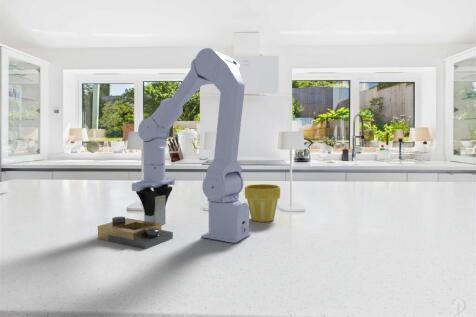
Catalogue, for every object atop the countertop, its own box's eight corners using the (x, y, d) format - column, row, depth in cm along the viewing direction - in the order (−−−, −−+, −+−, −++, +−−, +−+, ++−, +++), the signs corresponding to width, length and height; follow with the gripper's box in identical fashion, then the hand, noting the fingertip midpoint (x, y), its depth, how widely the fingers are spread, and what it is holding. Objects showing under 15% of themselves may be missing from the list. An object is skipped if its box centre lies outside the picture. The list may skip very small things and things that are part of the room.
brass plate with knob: (172, 238, 80) (172, 220, 80) (145, 249, 72) (144, 229, 72) (127, 229, 87) (127, 213, 87) (97, 238, 80) (97, 220, 79)
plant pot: (237, 219, 99) (237, 186, 98) (259, 213, 106) (259, 182, 106) (265, 225, 92) (265, 190, 91) (286, 219, 99) (287, 186, 99)
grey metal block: (165, 223, 94) (165, 195, 93) (155, 227, 90) (155, 197, 90) (154, 221, 95) (154, 193, 95) (144, 225, 92) (143, 196, 91)
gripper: (161, 162, 100) (161, 207, 101) (123, 165, 87) (123, 217, 88) (180, 163, 97) (180, 210, 97) (143, 166, 84) (143, 220, 85)
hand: (154, 213), depth 93 cm, fingers closed on grey metal block, 4 cm apart
